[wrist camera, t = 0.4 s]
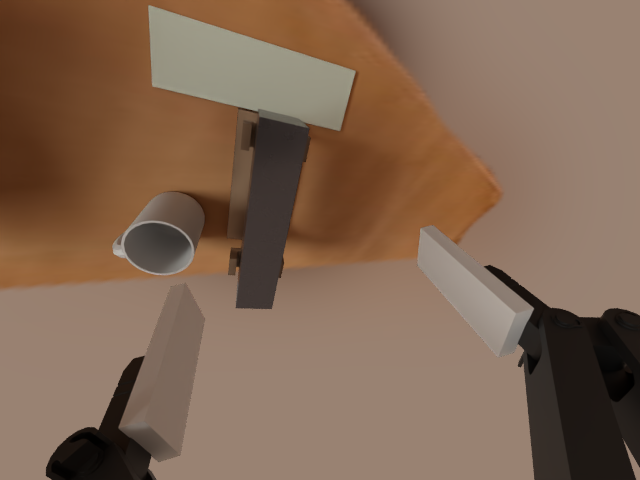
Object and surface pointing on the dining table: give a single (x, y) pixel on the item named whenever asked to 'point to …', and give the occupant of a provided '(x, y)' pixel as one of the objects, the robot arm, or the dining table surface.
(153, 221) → the cup
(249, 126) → the stand
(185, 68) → the mat
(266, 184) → the rail
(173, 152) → the dining table surface
